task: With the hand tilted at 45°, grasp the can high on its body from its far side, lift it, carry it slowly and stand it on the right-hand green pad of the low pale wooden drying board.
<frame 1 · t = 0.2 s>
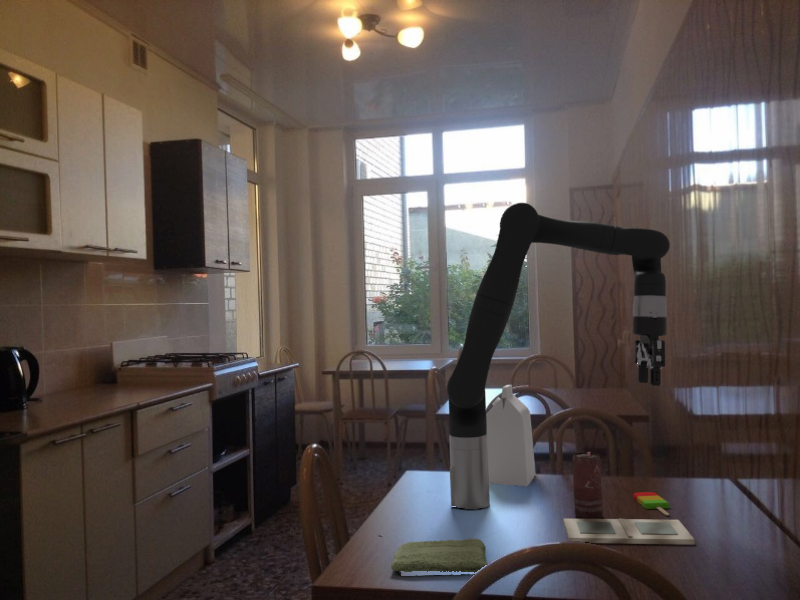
hand: (648, 384, 154), 29 cm above the table, tool pointing down, fingers open, 8 cm apart
rack: (625, 533, 135), on the table
milk: (511, 480, 181), on the table
can: (588, 517, 147), on the table
popsicle: (655, 509, 153), on the table
washcloth: (440, 566, 123), on the table
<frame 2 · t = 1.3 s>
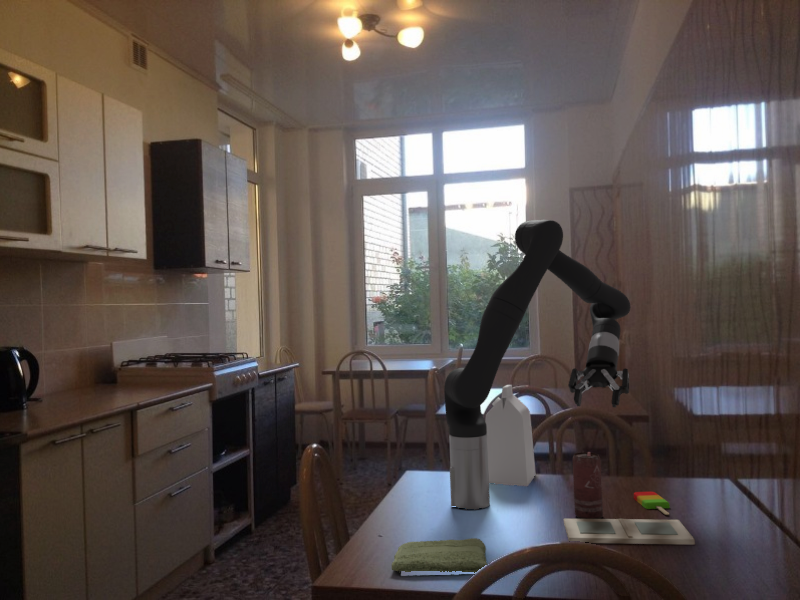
hand: (595, 404, 158), 23 cm above the table, tool tilted 45°, fingers open, 8 cm apart
nothing on the table moved.
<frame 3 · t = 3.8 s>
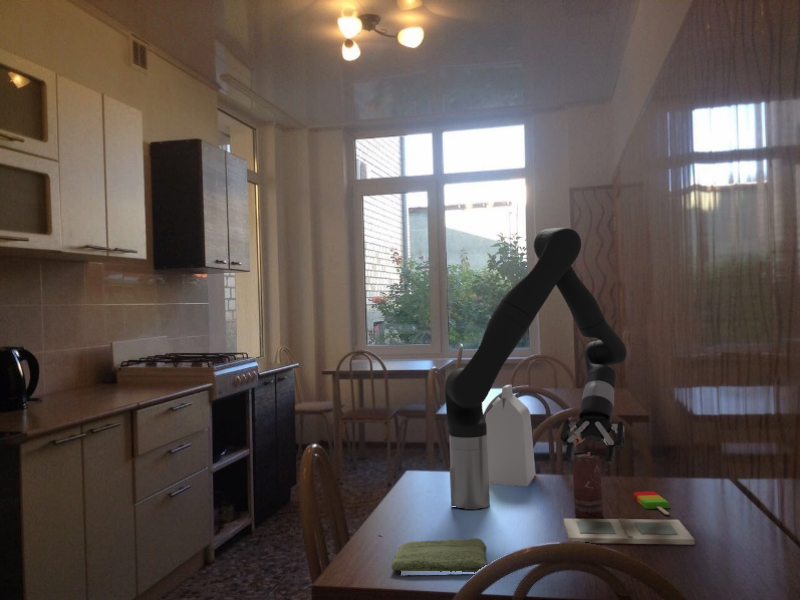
hand: (588, 460, 149), 12 cm above the table, tool tilted 45°, fingers open, 8 cm apart
nothing on the table moved.
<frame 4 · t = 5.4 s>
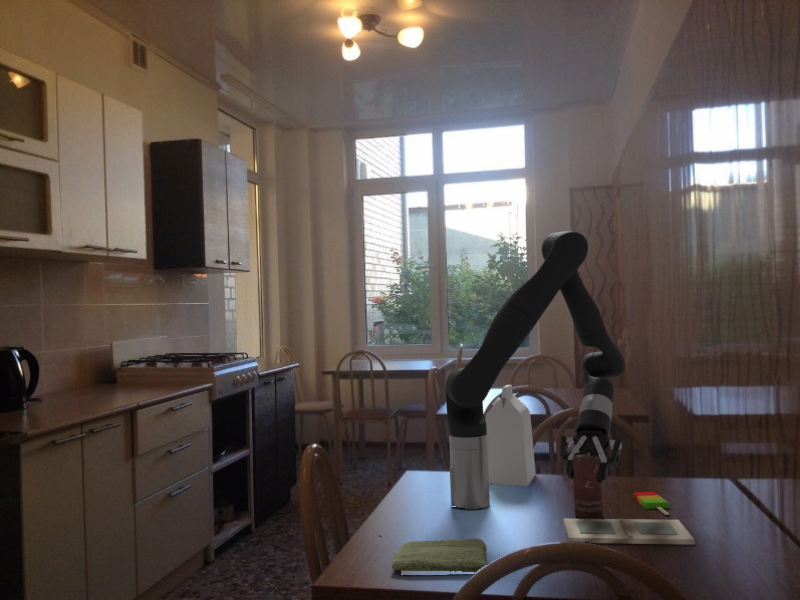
hand: (585, 478, 146), 9 cm above the table, tool tilted 45°, fingers closed on can, 6 cm apart
can: (589, 517, 147), on the table, touching gripper
everything else where it was.
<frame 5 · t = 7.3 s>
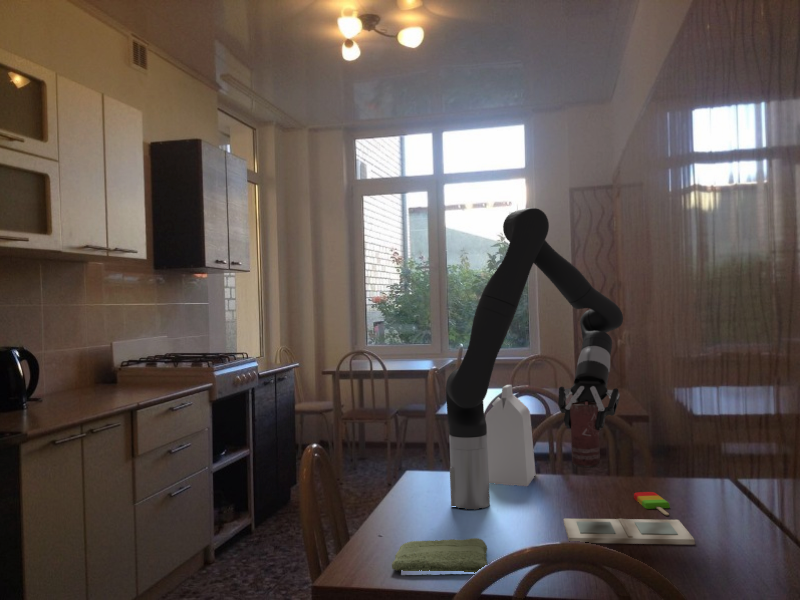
hand: (583, 427, 146), 20 cm above the table, tool tilted 45°, fingers closed on can, 6 cm apart
can: (586, 465, 148), point 11 cm above the table, touching gripper
everything else where it was.
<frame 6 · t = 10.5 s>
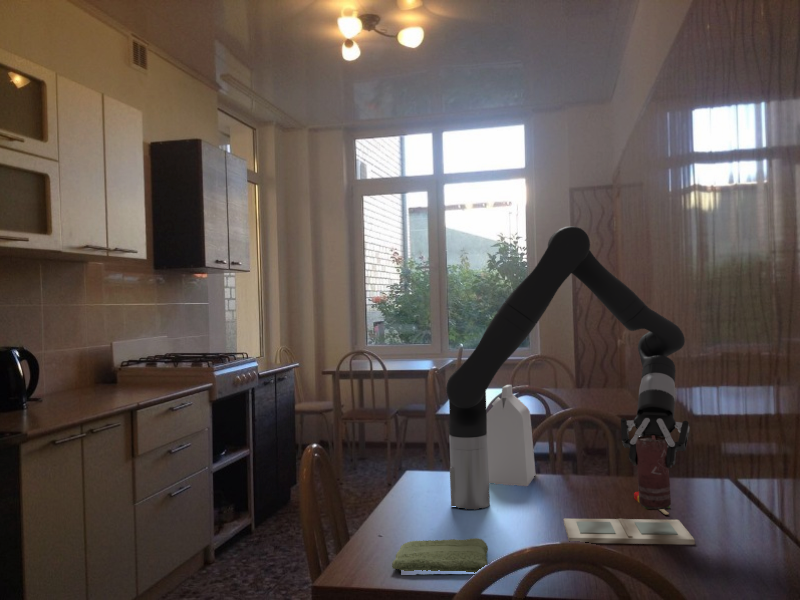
hand: (651, 464, 133), 15 cm above the table, tool tilted 45°, fingers closed on can, 6 cm apart
can: (655, 506, 135), point 6 cm above the table, touching gripper
everything else where it was.
when the fingers open (11 cm above the table, at t = 11.8 s): can stays where it is, resting on rack.
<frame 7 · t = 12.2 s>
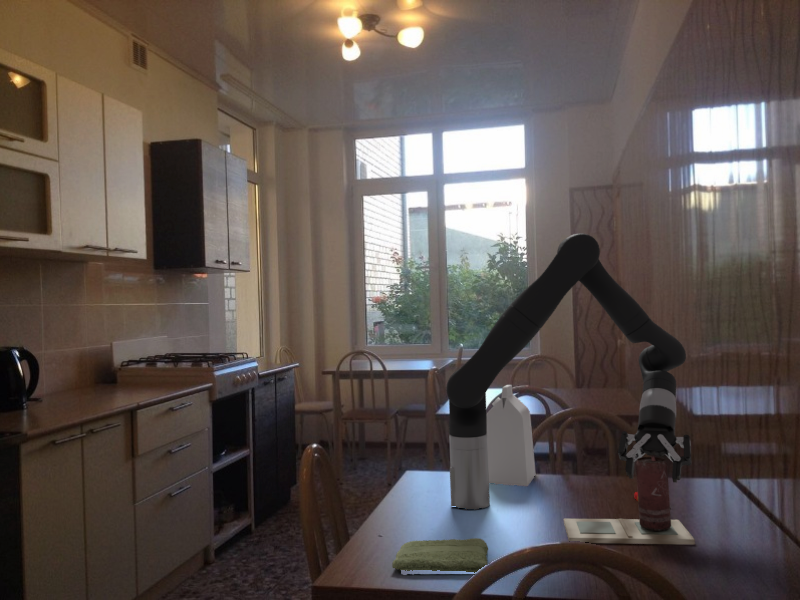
hand: (652, 478, 134), 12 cm above the table, tool tilted 45°, fingers open, 8 cm apart
can: (655, 528, 135), point 1 cm above the table, touching rack
everything else where it was.
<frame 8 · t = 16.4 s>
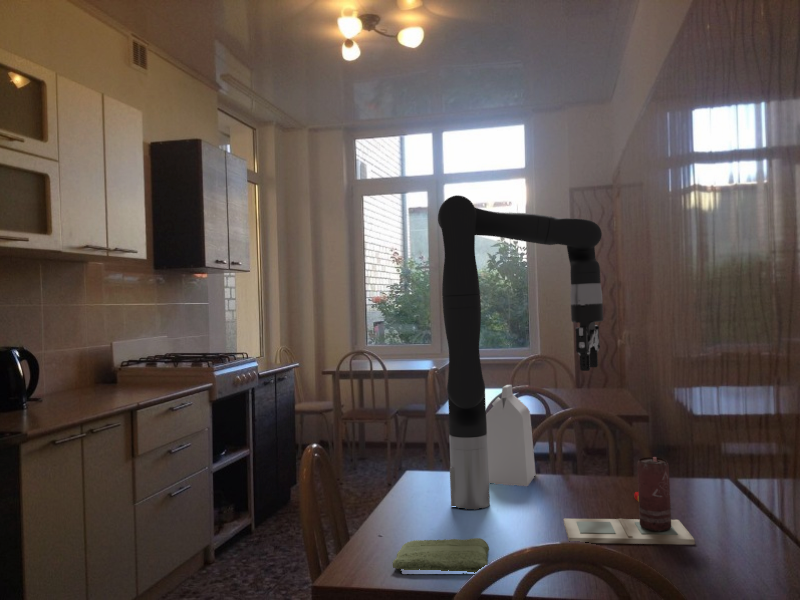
hand: (589, 368, 159), 32 cm above the table, tool pointing down, fingers open, 8 cm apart
nothing on the table moved.
at the end: can inside the target area on the rack (0.3 cm from its centre), point 1.0 cm above the rack's base; can tilted 0°; the gripper is holding nothing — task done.
